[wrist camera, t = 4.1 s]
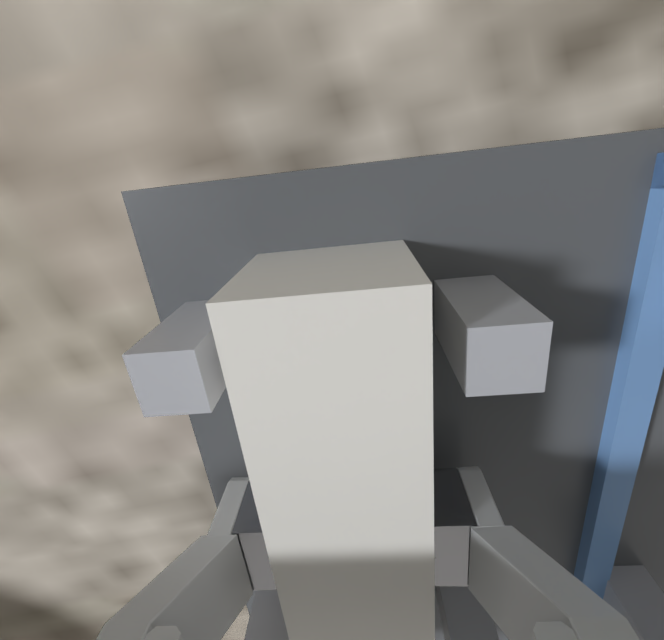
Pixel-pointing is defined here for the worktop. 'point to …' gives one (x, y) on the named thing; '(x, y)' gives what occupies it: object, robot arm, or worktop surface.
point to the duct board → (465, 336)
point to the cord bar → (337, 432)
